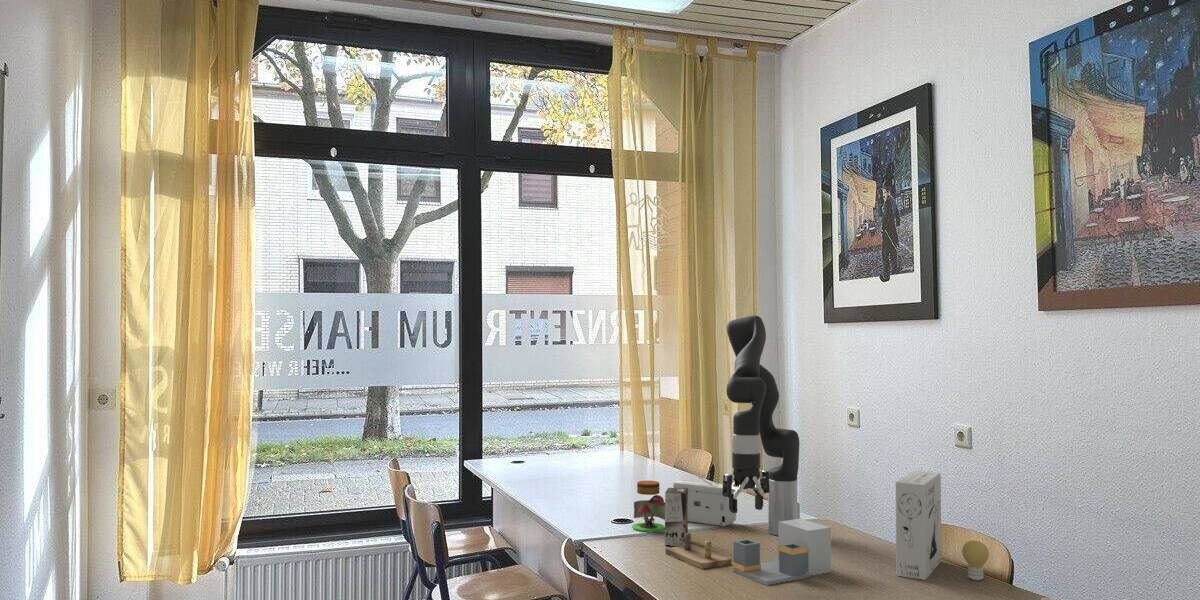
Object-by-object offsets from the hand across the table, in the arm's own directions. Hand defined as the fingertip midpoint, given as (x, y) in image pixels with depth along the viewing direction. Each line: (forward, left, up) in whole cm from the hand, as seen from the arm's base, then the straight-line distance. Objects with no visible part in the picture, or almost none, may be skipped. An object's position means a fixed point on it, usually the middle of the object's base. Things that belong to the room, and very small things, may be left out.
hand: (746, 511), depth 232 cm
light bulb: (-49, +34, -17) cm, 62 cm away
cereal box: (-44, +20, -17) cm, 51 cm away
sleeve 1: (0, 0, -15) cm, 15 cm away
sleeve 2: (-8, +9, -15) cm, 20 cm away
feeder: (-9, +5, -16) cm, 19 cm away
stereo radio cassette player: (-25, -54, -17) cm, 62 cm away
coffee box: (-1, -35, -17) cm, 39 cm away
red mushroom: (-4, -55, -17) cm, 58 cm away
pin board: (+4, -17, -16) cm, 24 cm away
